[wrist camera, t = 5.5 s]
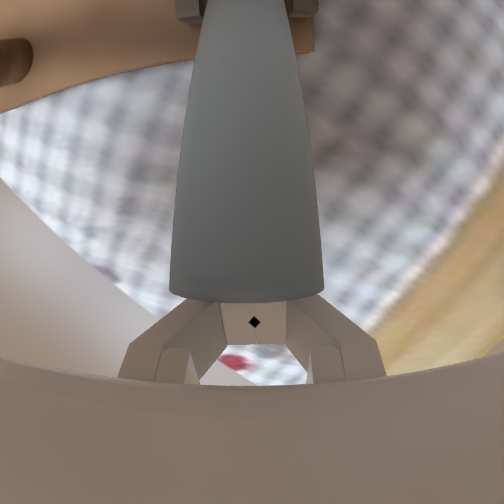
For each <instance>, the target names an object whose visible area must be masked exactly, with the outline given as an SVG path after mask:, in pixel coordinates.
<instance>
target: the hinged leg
mask: <svg viewBox="0 0 504 504" xmlns="http://www.w3.org/2000/svg"><path fill="white" fill-rule="evenodd" d="M323 289H324V278H323V264H322V251H321V239H320V228H319V217H318V207H317V198H316V189H315V180H314V172H313V164H312V156H311V148H310V141H309V134H308V127H307V120H306V114H305V107H304V101H303V95H302V89H301V83H300V77H299V72H298V66H297V61H296V55H295V50H294V45H293V40H292V35H291V30H290V26H289V21H288V16H287V12H286V7H285V3H284V0H208V1H207V5H206V9H205V14H204V18H203V23H202V27H201V32H200V37H199V42H198V47H197V52H196V57H195V62H194V68H193V73H192V79H191V85H190V91H189V97H188V103H187V110H186V116H185V123H184V130H183V137H182V145H181V153H180V161H179V170H178V179H177V188H176V198H175V209H174V221H173V233H172V247H171V263H170V282H169V290H170V292H172V293H173V294H175V295H178V296H180V297H184V298H188V299H193V300H199V301H207V302H218V303H269V302H280V301H289V300H295V299H301V298H305V297H309V296H312V295H315V294H318V293H320V292H321V291H323Z"/></svg>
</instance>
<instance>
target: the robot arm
mask: <svg viewBox="0 0 504 504" xmlns="http://www.w3.org/2000/svg"><path fill="white" fill-rule="evenodd" d="M247 344H286V346H287V347H288V349H289V350H290V351H291V353H292V354H293V355H294V356H295V358H296V359H297V360H298V361H299V363H300V364H301V365H302V366H303V368H304V369H305V370H306V371H307V381H306V384H300V385H275V386H215V385H200V382H199V380H200V379H201V378H202V376H203V375H204V374H205V373H206V371H207V370H208V369H209V368H210V367H211V365H212V364H213V363H214V362H215V361H216V359H217V358H218V357H219V356H220V354H221V353H222V352H223V351H224V350H225V348H226V347H227V345H247ZM0 504H504V352H501V353H498V354H494V355H490V356H487V357H482V358H478V359H474V360H470V361H466V362H462V363H457V364H453V365H448V366H443V367H438V368H433V369H428V370H423V371H417V372H411V373H405V374H399V375H392V376H386V372H385V369H384V365H383V362H382V358H381V355H380V352H379V349H378V345H377V342H376V340H375V339H373V338H372V337H371V336H370V335H368V334H367V333H366V332H365V331H363V330H362V329H361V328H360V327H358V326H357V325H356V324H355V323H353V322H352V321H351V320H350V319H348V318H347V317H346V316H345V315H343V314H342V313H341V312H340V311H338V310H337V309H336V308H335V307H333V306H332V305H331V304H330V303H328V302H327V301H326V300H325V299H323V298H322V297H321V296H320V295H312V296H309V297H305V298H301V299H295V300H289V301H280V302H269V303H218V302H207V301H199V300H193V299H188V298H187V299H186V300H185V301H183V302H182V303H181V304H180V305H178V306H177V307H176V308H174V309H173V310H172V311H171V312H169V313H168V314H167V315H166V316H164V317H163V318H162V319H160V320H159V321H158V322H157V323H155V324H154V325H153V326H152V327H150V328H149V329H148V330H147V331H145V332H144V333H143V334H141V335H140V336H139V337H138V338H136V339H135V340H134V341H133V342H131V343H130V344H129V347H128V349H127V352H126V355H125V357H124V360H123V363H122V365H121V368H120V371H119V374H118V377H117V378H115V377H107V376H99V375H94V374H87V373H81V372H75V371H70V370H64V369H59V368H54V367H49V366H44V365H40V364H35V363H31V362H27V361H22V360H18V359H14V358H10V357H7V356H3V355H0Z"/></svg>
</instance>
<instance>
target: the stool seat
mask: <svg viewBox="0 0 504 504" xmlns="http://www.w3.org/2000/svg"><path fill="white" fill-rule="evenodd" d="M207 1H208V0H0V114H2V113H4V112H7V111H9V110H12V109H15V108H17V107H20V106H22V105H25V104H27V103H29V102H32V101H34V100H37V99H40V98H42V97H45V96H48V95H50V94H53V93H56V92H59V91H62V90H65V89H68V88H71V87H74V86H77V85H80V84H83V83H87V82H90V81H93V80H97V79H101V78H104V77H108V76H112V75H116V74H120V73H124V72H128V71H133V70H137V69H142V68H147V67H152V66H157V65H162V64H168V63H174V62H180V61H187V60H194V59H195V57H196V52H197V47H198V42H199V37H200V32H201V27H202V23H203V18H204V14H205V9H206V5H207ZM284 3H285V7H286V12H287V16H288V21H289V26H290V30H291V35H292V40H293V45H294V50H295V53H309V52H313V51H314V45H313V25H312V16H313V15H314V14H315V13H316V12H317V11H318V0H284Z"/></svg>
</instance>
